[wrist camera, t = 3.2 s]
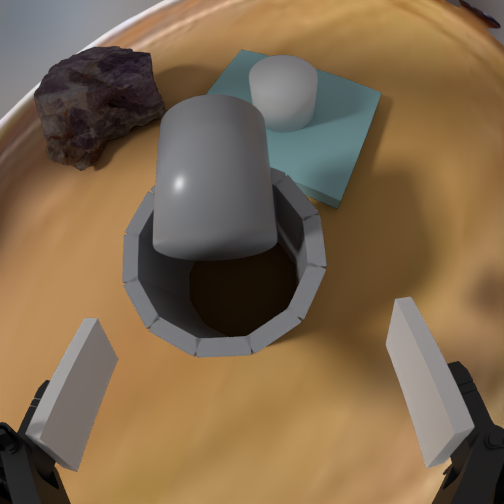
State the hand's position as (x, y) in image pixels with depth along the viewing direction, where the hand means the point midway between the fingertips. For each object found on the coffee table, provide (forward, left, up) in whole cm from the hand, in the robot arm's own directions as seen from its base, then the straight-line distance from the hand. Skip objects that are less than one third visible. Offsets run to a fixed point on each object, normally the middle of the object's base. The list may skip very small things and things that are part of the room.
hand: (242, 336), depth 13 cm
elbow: (-3, +3, -9) cm, 9 cm away
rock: (-21, +11, -9) cm, 26 cm away
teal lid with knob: (-6, +17, -9) cm, 20 cm away
